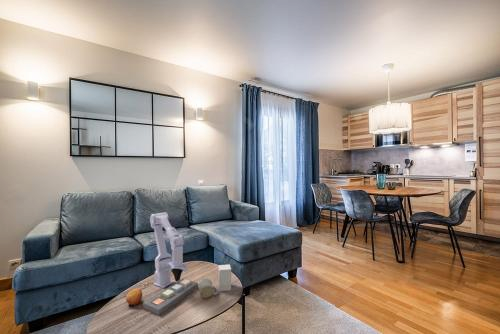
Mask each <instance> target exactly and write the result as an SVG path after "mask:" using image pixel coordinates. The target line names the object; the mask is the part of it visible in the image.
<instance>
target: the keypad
mask: <svg viewBox="0 0 500 334" xmlns="http://www.w3.org/2000/svg"><path fill="white" fill-rule="evenodd" d="M184 279H185V278H183V277H182V279H180V280H179V281H176V282H175V283H172V284H171V285H169V287H168V286H167V288H164V289H163V290H162V291H160V292H159V293H157V294H155V295H154V296H151V297H150V298H149V299H146V300H145V301H144V302H142V309H143V310H145V311H147V312H149V313H152V314H154V315H156V316H161V315H162V314H163V313H165V312H167V311H168V310H170V309H171V308H172V307H173V306H175V305H176V304H177V303H179V302H180V301H182V300H183V299H185V298H186V297H188V296H189V295H190V294H192V293H193V292H194V291H196V290H198V289H199V283H198V282H196V281H193V280H190V281H191V284H190V285H188V286H187V287H183V289H182V290H181V291H179V292H178V293H176V292H174V295H173V296H172V297H170V298H169V299H167V298H164V297H162V293H163V292H165V291H166V290H168V289H169V290H171V287H173V286H175V285H176V284H179V285H180V282H181V281H183V280H184ZM158 298H160V299H163V300H165V301H164V302H162V303H161V304H159V305H158V306H157V305H155V304H153V303H152V302H153V301H155V300H156V299H158Z"/></svg>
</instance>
